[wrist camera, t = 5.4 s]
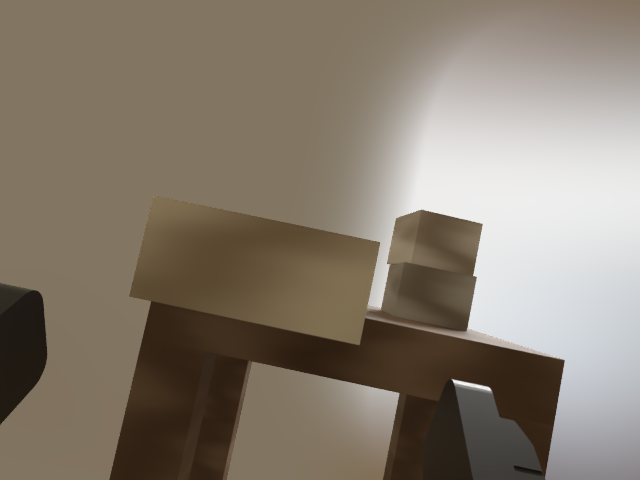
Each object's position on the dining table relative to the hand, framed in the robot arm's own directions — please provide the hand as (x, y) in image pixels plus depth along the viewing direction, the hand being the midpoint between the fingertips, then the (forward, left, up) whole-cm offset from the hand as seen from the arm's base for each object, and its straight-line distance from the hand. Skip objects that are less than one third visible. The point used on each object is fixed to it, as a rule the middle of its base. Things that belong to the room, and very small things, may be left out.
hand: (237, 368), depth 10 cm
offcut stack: (-8, -21, +1) cm, 22 cm away
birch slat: (0, -12, +1) cm, 12 cm away
